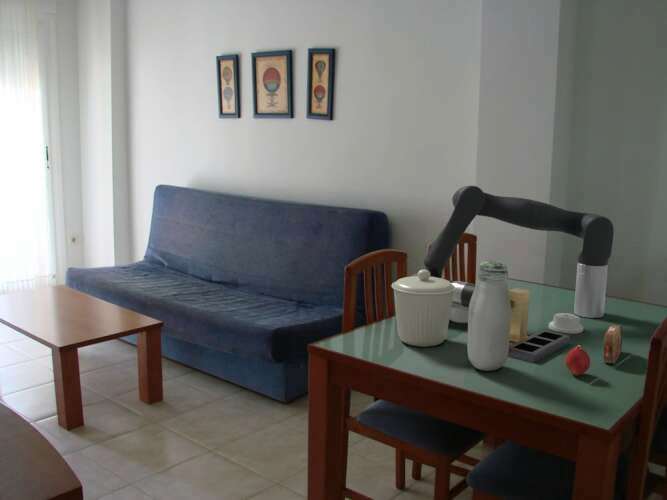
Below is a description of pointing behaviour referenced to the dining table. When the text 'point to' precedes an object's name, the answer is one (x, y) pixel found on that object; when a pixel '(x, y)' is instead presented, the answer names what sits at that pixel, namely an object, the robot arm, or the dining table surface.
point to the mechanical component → (566, 323)
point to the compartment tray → (538, 345)
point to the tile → (516, 340)
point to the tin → (612, 344)
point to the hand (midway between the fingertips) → (514, 304)
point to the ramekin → (459, 314)
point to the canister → (423, 308)
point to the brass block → (519, 313)
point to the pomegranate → (577, 361)
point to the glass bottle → (489, 317)
